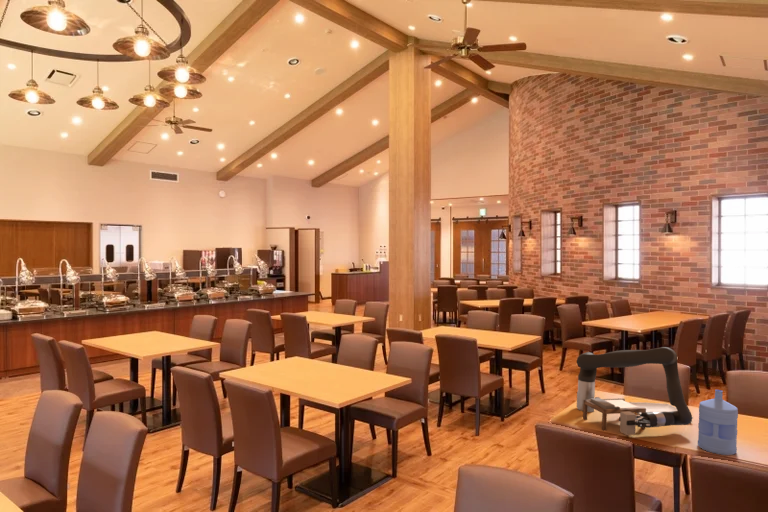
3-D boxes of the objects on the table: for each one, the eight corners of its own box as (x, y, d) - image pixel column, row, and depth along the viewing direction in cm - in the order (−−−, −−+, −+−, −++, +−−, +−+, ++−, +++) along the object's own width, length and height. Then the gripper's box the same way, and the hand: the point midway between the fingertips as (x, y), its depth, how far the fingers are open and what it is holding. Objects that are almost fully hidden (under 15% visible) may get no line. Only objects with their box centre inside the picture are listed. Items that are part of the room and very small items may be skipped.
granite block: (619, 431, 265) (620, 411, 264) (628, 430, 266) (629, 411, 265) (626, 434, 260) (626, 415, 259) (635, 434, 261) (635, 414, 260)
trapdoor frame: (603, 430, 271) (604, 408, 270) (583, 418, 289) (583, 397, 289) (645, 428, 275) (646, 406, 275) (622, 416, 294) (623, 396, 293)
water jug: (700, 440, 259) (702, 384, 259) (738, 448, 249) (740, 390, 249) (694, 449, 247) (696, 390, 247) (734, 458, 237) (736, 397, 237)
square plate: (694, 424, 285) (694, 417, 285) (643, 422, 286) (643, 415, 286) (668, 408, 312) (668, 402, 312) (622, 407, 313) (622, 401, 313)
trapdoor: (605, 413, 273) (606, 405, 273) (590, 405, 287) (590, 398, 287) (638, 412, 277) (638, 404, 277) (621, 404, 291) (621, 396, 291)
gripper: (643, 407, 272) (614, 409, 269) (663, 416, 258) (632, 418, 255) (643, 421, 273) (613, 423, 269) (662, 431, 258) (632, 433, 255)
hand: (623, 421), depth 262 cm, fingers closed on granite block, 5 cm apart
